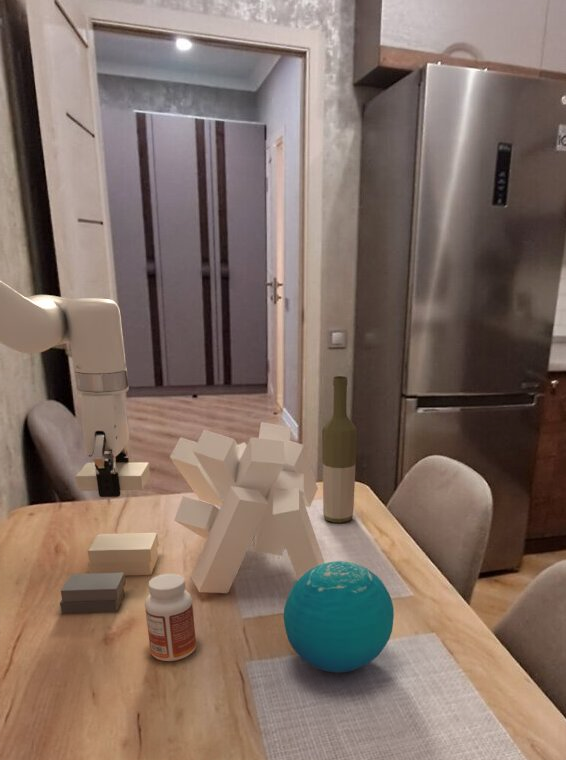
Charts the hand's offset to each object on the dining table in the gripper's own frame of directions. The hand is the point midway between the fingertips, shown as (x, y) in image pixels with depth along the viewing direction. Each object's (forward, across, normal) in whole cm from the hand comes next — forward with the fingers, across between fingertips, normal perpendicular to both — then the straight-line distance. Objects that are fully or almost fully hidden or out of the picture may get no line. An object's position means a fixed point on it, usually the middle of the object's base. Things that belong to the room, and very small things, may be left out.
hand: (115, 487), depth 111 cm
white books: (+15, 0, 0) cm, 15 cm away
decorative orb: (+15, +32, +35) cm, 50 cm away
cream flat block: (-1, 0, 0) cm, 1 cm away
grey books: (+15, +13, -2) cm, 20 cm away
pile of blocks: (+15, 0, +22) cm, 27 cm away
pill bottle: (+15, +27, +12) cm, 33 cm away
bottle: (+15, -20, +39) cm, 46 cm away
